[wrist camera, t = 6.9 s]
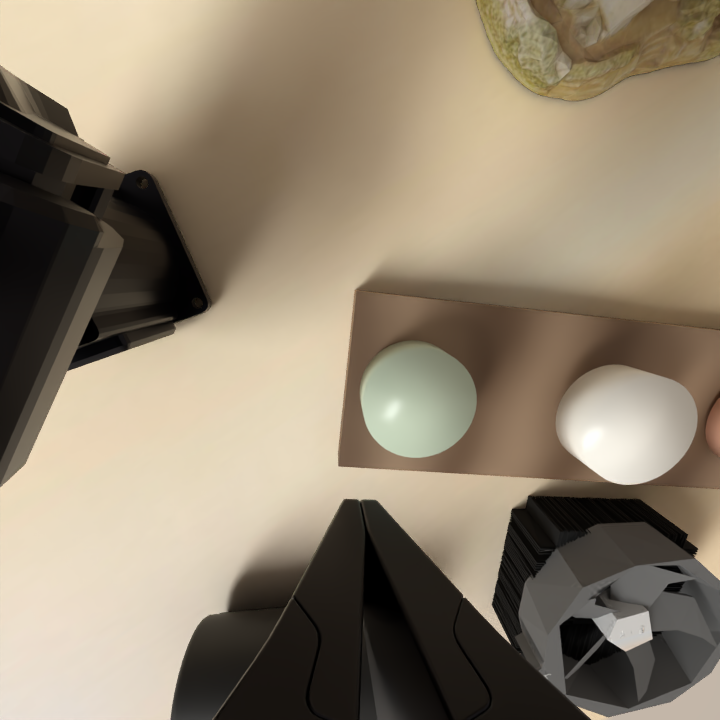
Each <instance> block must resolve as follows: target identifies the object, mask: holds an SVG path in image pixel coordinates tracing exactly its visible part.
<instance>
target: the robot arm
mask: <svg viewBox="0 0 720 720" xmlns="http://www.w3.org/2000/svg"><path fill="white" fill-rule="evenodd" d="M109 160H110V157H109V156H107V155H106V154H104V153H102V152H101V151H99V150H97V149H96V148H94V147H93V146H91V145H89V144H88V143H86V142H84V140H82V139H81V138H79V137H78V134H77V132H76V129H75V127H74V124H73V122H72V119H71V117H70V114H69V112H68V109H67V108H65V107H63V106H62V105H60V104H59V103H57V102H55V101H54V100H52V99H51V98H49V97H48V96H46V95H44V94H43V93H41V92H40V91H38V90H36V89H35V88H33V87H32V86H30V85H29V84H27V83H25V82H24V81H22V80H21V79H19V78H18V77H16V76H15V75H13V74H12V73H10V72H9V71H8V70H6V69H5V68H3V67H2V66H1V65H0V487H1V486H2V485H3V484H4V483H5V482H7V481H8V480H9V479H10V478H11V477H12V476H13V475H14V474H15V473H16V472H17V471H18V470H19V469H20V468H22V467H23V466H24V465H25V463H26V461H27V459H28V457H29V454H30V452H31V450H32V448H33V446H34V443H35V441H36V439H37V437H38V434H39V432H40V430H41V428H42V426H43V423H44V421H45V419H46V417H47V414H48V412H49V410H50V408H51V405H52V403H53V401H54V399H55V397H56V394H57V392H58V390H59V388H60V385H61V383H62V381H63V379H64V376H65V374H66V372H67V371H69V370H72V369H75V368H77V367H80V366H83V365H86V364H89V363H92V362H95V361H97V360H100V359H103V358H106V357H109V356H112V355H114V354H117V353H120V352H123V351H126V350H129V349H132V348H134V347H137V346H140V345H143V344H146V343H149V342H152V341H154V340H157V339H160V338H163V337H166V336H169V335H172V334H173V333H174V331H175V329H176V328H175V326H174V324H173V323H176V322H179V321H181V320H184V319H187V318H190V317H193V316H196V315H199V314H201V313H204V312H206V311H208V310H209V308H210V307H211V301H210V298H209V295H208V293H207V291H206V289H205V286H204V284H203V282H202V280H201V277H200V275H199V273H198V271H197V269H196V266H195V264H194V262H193V260H192V257H191V255H190V253H189V251H188V248H187V246H186V244H185V242H184V239H183V237H182V235H181V233H180V230H179V228H178V226H177V224H176V222H175V219H174V217H173V215H172V213H171V210H170V208H169V206H168V204H167V201H166V199H165V197H164V195H163V192H162V190H161V188H160V186H159V184H158V181H157V180H156V178H155V177H154V176H153V175H151V174H150V173H148V172H146V171H143V170H137V171H134V172H131V173H128V174H126V175H125V173H124V172H122V171H120V170H119V169H117V168H115V167H114V166H112V165H110V164H109V163H108V162H109ZM144 179H147V180H148V187H147V188H145V189H143V188H142V187H141V182H142V180H144ZM197 298H200V299H201V300H202V302H203V305H202V307H201V308H199V307H197V306H196V304H195V300H196V299H197ZM363 628H364V635H365V642H366V648H367V655H368V661H369V668H370V674H371V681H372V688H373V694H374V701H375V707H376V714H377V720H591V719H590V718H589V717H588V716H587V715H586V714H584V713H583V712H582V711H581V710H580V709H579V708H578V707H577V706H576V705H575V704H574V703H573V702H572V701H570V700H569V699H568V698H567V697H566V696H565V695H564V694H563V693H562V692H561V691H560V690H559V689H557V688H556V687H555V686H554V685H553V684H552V683H551V682H550V681H549V680H548V679H547V678H546V677H545V676H543V675H542V674H541V673H540V672H539V671H538V670H537V669H536V668H535V667H534V666H533V665H532V664H531V663H529V662H528V661H527V660H526V659H525V658H524V657H523V656H522V655H521V654H520V653H519V652H518V651H517V650H516V649H515V648H514V647H513V646H512V645H511V644H510V643H508V642H507V641H506V640H505V639H504V638H503V637H502V636H501V635H500V634H499V633H498V632H497V631H496V630H495V629H494V628H493V627H492V625H491V624H490V623H489V622H488V621H487V620H486V619H485V618H484V617H483V616H482V615H481V614H480V613H479V612H478V611H477V610H476V609H475V608H474V606H473V605H472V604H471V603H470V602H469V601H468V600H467V599H466V598H463V595H462V593H461V592H460V591H459V590H458V589H457V588H456V587H455V586H454V585H453V584H452V582H451V581H450V580H449V579H448V578H447V577H446V576H445V575H444V574H443V573H442V572H441V570H440V569H439V568H438V567H437V566H436V565H435V564H434V563H433V562H432V561H431V559H430V558H429V557H428V556H427V555H426V554H425V553H424V552H423V551H422V550H421V548H420V547H419V546H418V545H417V544H416V543H415V542H414V541H413V540H412V539H411V537H410V536H409V535H408V534H407V533H406V532H405V531H404V530H403V529H402V528H401V527H400V525H399V524H398V523H397V522H396V521H395V520H394V519H393V518H392V517H391V516H390V514H389V513H388V512H387V511H386V510H385V509H384V508H383V507H382V506H381V505H380V503H379V502H378V501H376V500H361V501H359V500H357V499H344V500H343V501H342V503H341V505H340V507H339V509H338V510H337V512H336V514H335V516H334V518H333V520H332V522H331V524H330V526H329V527H328V529H327V531H326V533H325V535H324V537H323V539H322V541H321V542H320V544H319V546H318V548H317V550H316V552H315V554H314V556H313V557H312V559H311V561H310V563H309V565H308V567H307V569H306V571H305V573H304V574H303V576H302V578H301V580H300V582H299V584H298V586H297V588H296V589H295V591H294V593H293V595H292V599H290V600H289V602H288V604H287V606H286V608H285V610H284V612H283V613H282V615H281V617H280V619H279V620H278V622H277V624H276V626H275V627H274V629H273V631H272V633H271V634H270V636H269V638H268V639H267V641H266V642H265V644H264V645H263V647H262V648H261V650H260V651H259V653H258V655H257V656H256V658H255V659H254V661H253V662H252V664H251V665H250V667H249V668H248V669H247V671H246V672H245V674H244V675H243V677H242V678H241V679H240V681H239V682H238V684H237V685H236V687H235V688H234V689H233V691H232V692H231V694H230V695H229V696H228V698H227V699H226V701H225V702H224V704H223V705H222V706H221V708H220V709H219V711H218V712H217V714H216V715H215V716H214V718H213V719H212V720H360V694H361V666H362V638H363Z"/></svg>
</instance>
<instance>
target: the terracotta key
mask: <svg viewBox="0 0 720 720" xmlns="http://www.w3.org/2000/svg"><path fill="white" fill-rule="evenodd" d="M705 434H706V440H707V444H708V446H709V448H710V449H711V451H712V452H713V453H714V454H715V455H717V456H718V457H720V398H719V399H718V400H717V401H716V403H715V404H714V406H713V407H712V409H711V411H710V413H709V416H708V419H707V422H706V430H705Z"/></svg>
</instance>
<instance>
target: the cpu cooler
mask: <svg viewBox="0 0 720 720" xmlns="http://www.w3.org/2000/svg"><path fill="white" fill-rule="evenodd" d="M511 512H512V513H511V514H512V515H511V516H512V517H511V519H510V521H511V522H509V525H508V530H507V531H508V532H507V536H506V537H507V538H506V540H505V541H506V542H505V544H504V545H505V546H504V549H505V550H504V552H503V556H502V558H501V559H502V561H501V564H500V565H501V566H500V567H501V568H499V569H500V570H499V574H498V577H499V578H498V580H497V583H496V587H495V593H494V594H495V595H494V599H493V602H492V606H493V608H494V610H495V612H496V614H497V616H498V619H499V621H500V623H501V625H502V627H503V629H504V631H505V633H506V635H507V637H508V639H509V641H510V643H511V645H512V646H513V647H514V648H515V649H516V650H517V651H518V652H519V653H521V655H522V656H523V657H524V658H525V659H526V660H527V661H528V662H529V663H531V664H532V665H533V666H534V667H535V668H536V669H537V670H538V671H539V672H540V673H541V674H542V675H543V676H545V677H546V678H547V679H548V680H549V681H550V682H551V683H552V684H553V685H554V686H555V687H556V688H557V689H559V690H560V691H561V692H562V693H563V694H564V695H565V696H566V697H567V698H568V699H569V700H570V701H572V702H573V703H574V704H575V705H576V706H578V707H581V708H583V709H586V710H589V711H592V712H595V713H598V714H600V715H603V716H606V717H611V716H616V715H619V714H624V713H628V712H632V711H636V710H640V709H644V708H648V707H652V706H656V705H660V704H664V703H668V702H671V701H673V700H674V699H676V698H677V697H678V696H680V695H681V694H682V693H684V692H685V691H687V690H688V689H689V688H691V687H692V686H694V685H695V684H696V683H698V682H699V681H700V680H702V679H703V678H705V677H706V676H707V675H709V674H710V673H711V672H712V670H713V669H714V667H715V666H716V664H717V662H718V661H719V659H720V581H719V580H718V579H717V578H716V577H715V576H714V575H713V574H712V573H711V572H710V571H708V570H707V569H706V568H705V567H704V566H703V565H702V564H701V563H700V562H699V561H698V560H696V559H695V558H694V557H695V556H694V555H693V554H696V553H695V552H697V550H698V548H696V547H695V546H694V545H692V544H691V543H690V542H688V541H687V540H686V539H687V536H688V534H686V533H685V532H684V531H682V530H681V529H680V528H678V527H677V526H675V525H674V524H673V523H671V522H670V521H669V520H667V519H666V518H664V517H663V516H662V515H660V514H659V513H658V512H656V511H655V510H654V509H652V508H651V507H649V506H648V505H647V504H645V503H644V502H643V501H641V500H640V499H636V500H635V499H634V500H633V499H632V500H631V499H630V500H629V499H628V500H627V499H619V500H618V499H616V500H615V499H614V500H613V499H611V498H610V500H609V499H606V498H605V499H604V498H602V499H601V498H598V499H597V498H595V499H594V498H593V499H592V498H589V499H588V498H586V499H585V498H582V499H581V498H576V499H575V498H574V497H573V498H570V497H568V498H567V497H564V498H563V497H561V498H560V497H554V498H553V497H552V498H551V497H548V496H547V498H546V497H544V496H542V497H541V496H540V498H539V497H537V496H536V499H535V497H534V496H533V498H532V497H530V496H528V500H527V505H526V509H512V511H511Z"/></svg>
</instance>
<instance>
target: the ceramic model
mask: <svg viewBox="0 0 720 720" xmlns="http://www.w3.org/2000/svg"><path fill="white" fill-rule="evenodd" d="M476 3H477V7H478V9H479V12H480V16H481V19H482V21H483V23H484V27H485V30H486V33H487V37H488V38H489V40H490V42H491V45H492V47H493V50H494V52H495V53H496V55H497V56H498V58H499V60H500V61H501V62H502V63H503V65H504V66H505V67H507V68H508V71H510V72H511V73H512V74H513V76H514V77H515V78H516V79H517V80H518V81H519V82H521V84H522V85H523V86H525V87H526V88H528V89H530V90H531V91H532V92H535V93H537V94H539V95H543V96H548V97H552V98H562V99H563V100H572V101H578V100H584V99H588V98H592V97H595V96H597V95H599V94H601V93H603V92H605V91H606V90H608V89H609V88H611V87H612V86H614V85H615V84H617V83H618V82H620V81H621V80H623V79H625V78H627V77H629V76H632V75H636V74H641V73H642V74H643V73H649V72H652V71H655V70H657V69H662V68H665V67H668V66H669V67H671V66H674V65H682V64H686V63H690V62H694V63H696V62H699V61H705V60H709V59H711V58H713V57H716V56H717V55H719V54H720V0H476Z"/></svg>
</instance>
